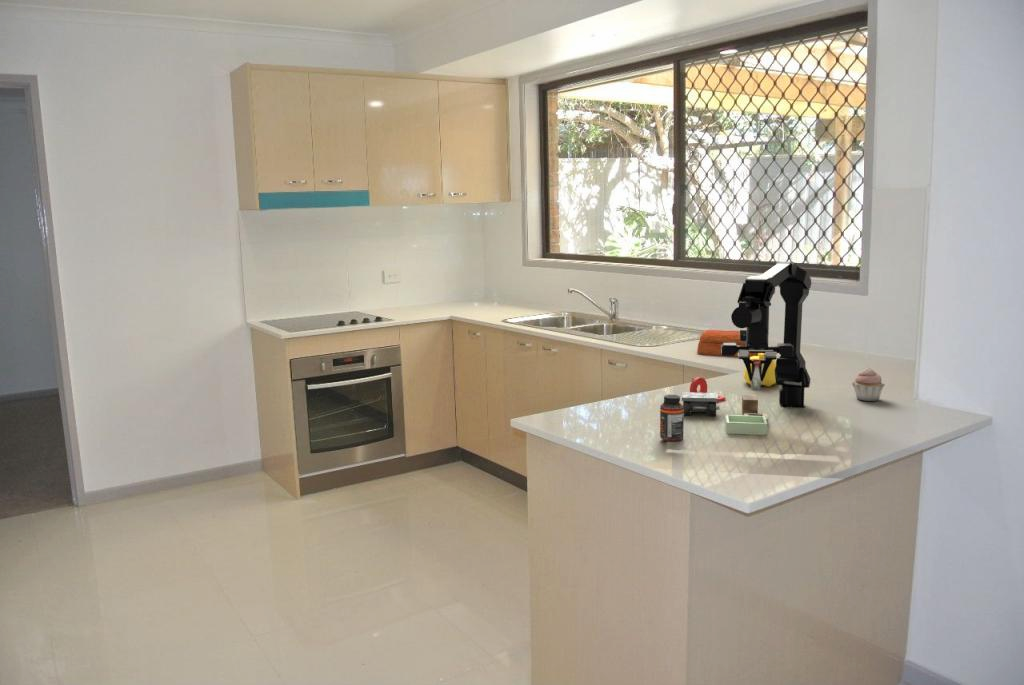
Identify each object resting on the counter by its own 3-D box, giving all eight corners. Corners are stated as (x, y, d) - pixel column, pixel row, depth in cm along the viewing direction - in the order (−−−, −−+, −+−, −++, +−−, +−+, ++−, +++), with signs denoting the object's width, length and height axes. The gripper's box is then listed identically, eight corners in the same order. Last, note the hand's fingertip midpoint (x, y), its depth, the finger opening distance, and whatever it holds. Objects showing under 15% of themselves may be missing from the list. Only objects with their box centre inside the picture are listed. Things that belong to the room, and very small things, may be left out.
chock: (756, 412, 235) (756, 395, 234) (757, 417, 229) (757, 400, 228) (741, 411, 235) (742, 395, 235) (742, 416, 230) (743, 399, 229)
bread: (763, 362, 311) (764, 335, 309) (694, 358, 323) (694, 332, 321) (770, 356, 325) (770, 330, 323) (703, 352, 336) (703, 327, 335)
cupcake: (870, 394, 253) (871, 363, 251) (891, 401, 244) (892, 368, 242) (844, 396, 250) (845, 365, 249) (864, 403, 242) (865, 370, 240)
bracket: (701, 406, 243) (701, 381, 242) (689, 404, 246) (689, 378, 245) (726, 400, 250) (727, 375, 249) (715, 398, 253) (715, 373, 252)
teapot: (776, 392, 259) (776, 359, 258) (740, 390, 263) (741, 357, 262) (780, 381, 276) (781, 350, 274) (746, 379, 280) (747, 348, 278)
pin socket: (766, 420, 224) (766, 413, 224) (767, 426, 219) (768, 418, 218) (743, 419, 226) (743, 412, 225) (744, 425, 220) (744, 418, 220)
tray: (764, 426, 218) (764, 416, 218) (767, 434, 210) (767, 423, 210) (725, 425, 220) (725, 414, 220) (726, 433, 212) (726, 422, 212)
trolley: (718, 411, 236) (719, 393, 236) (719, 417, 229) (719, 399, 228) (680, 410, 239) (680, 392, 238) (679, 416, 231) (679, 397, 231)
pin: (762, 388, 222) (763, 359, 221) (763, 391, 219) (764, 361, 217) (748, 388, 223) (749, 358, 222) (749, 391, 219) (750, 361, 218)
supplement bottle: (657, 436, 212) (657, 393, 210) (679, 435, 212) (679, 392, 210) (663, 442, 206) (663, 399, 204) (686, 441, 206) (686, 398, 204)
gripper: (790, 320, 224) (789, 375, 226) (721, 320, 228) (720, 374, 230) (795, 325, 213) (793, 383, 215) (722, 325, 217) (721, 382, 219)
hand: (756, 380), depth 220 cm, fingers closed on pin, 3 cm apart
